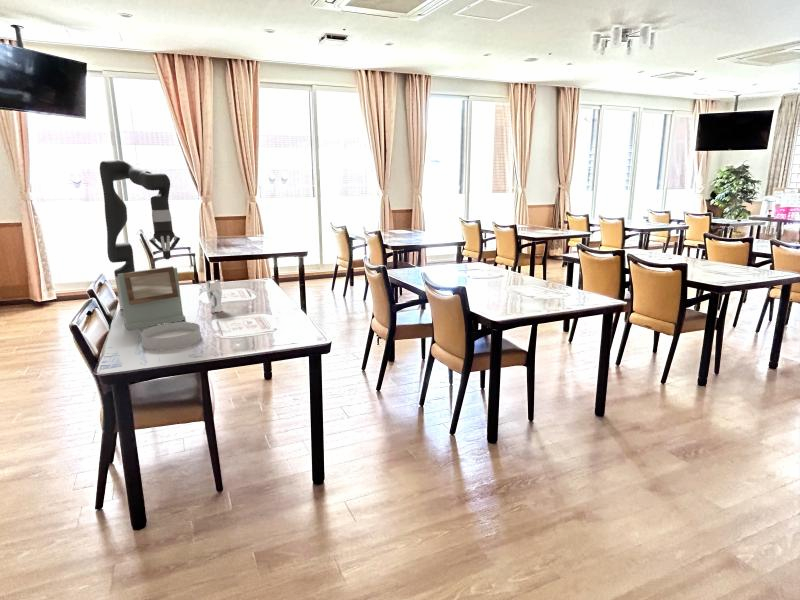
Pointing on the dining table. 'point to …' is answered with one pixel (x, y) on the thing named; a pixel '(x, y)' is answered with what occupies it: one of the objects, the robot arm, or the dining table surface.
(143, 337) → the dish
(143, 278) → the frame
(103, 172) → the robot arm
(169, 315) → the board
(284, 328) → the dining table surface
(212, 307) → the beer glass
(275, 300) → the dining table surface
